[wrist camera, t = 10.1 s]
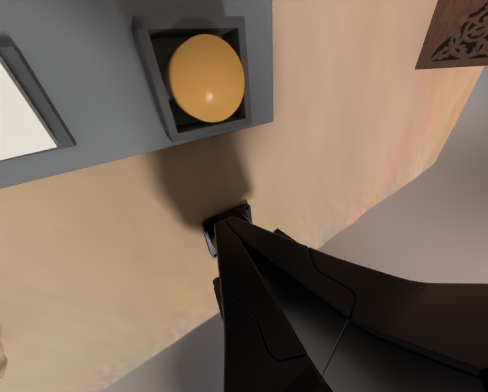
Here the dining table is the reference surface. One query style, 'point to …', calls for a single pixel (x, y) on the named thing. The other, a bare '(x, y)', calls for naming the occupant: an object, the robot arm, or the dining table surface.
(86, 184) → the dining table surface
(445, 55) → the tissue box cover
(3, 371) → the garlic bulb
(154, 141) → the panel
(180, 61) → the push button
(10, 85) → the white slab
